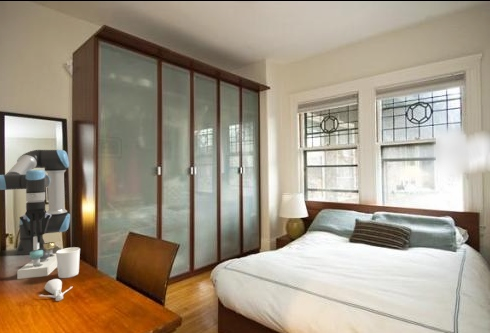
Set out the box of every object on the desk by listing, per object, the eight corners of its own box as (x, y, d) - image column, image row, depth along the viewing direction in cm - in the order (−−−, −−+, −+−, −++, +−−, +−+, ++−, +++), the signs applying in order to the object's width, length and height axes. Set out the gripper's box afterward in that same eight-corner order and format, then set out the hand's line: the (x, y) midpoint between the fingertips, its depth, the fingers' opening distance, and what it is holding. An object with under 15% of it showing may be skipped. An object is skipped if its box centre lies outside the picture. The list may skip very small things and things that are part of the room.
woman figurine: (68, 273, 122) (77, 288, 109) (68, 283, 122) (77, 299, 109) (35, 281, 114) (41, 298, 101) (35, 291, 114) (41, 310, 101)
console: (40, 262, 152) (40, 255, 152) (65, 259, 155) (64, 252, 155) (17, 279, 128) (17, 270, 128) (47, 275, 131) (47, 267, 132)
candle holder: (85, 271, 136) (84, 247, 136) (70, 279, 127) (70, 253, 127) (66, 271, 137) (66, 247, 137) (51, 278, 128) (50, 253, 128)
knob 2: (46, 255, 151) (45, 242, 151) (56, 253, 153) (56, 241, 153) (42, 257, 146) (41, 245, 146) (53, 256, 148) (53, 244, 148)
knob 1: (32, 264, 136) (32, 250, 136) (44, 263, 137) (44, 249, 137) (27, 267, 131) (27, 253, 131) (40, 266, 132) (40, 252, 132)
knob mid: (39, 264, 143) (39, 251, 144) (51, 263, 145) (51, 250, 145) (35, 268, 138) (35, 254, 139) (47, 266, 140) (47, 253, 140)
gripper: (16, 202, 129) (16, 253, 129) (48, 201, 133) (48, 250, 132) (23, 201, 136) (24, 248, 136) (54, 199, 140) (54, 246, 140)
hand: (36, 249), depth 134 cm, fingers closed
